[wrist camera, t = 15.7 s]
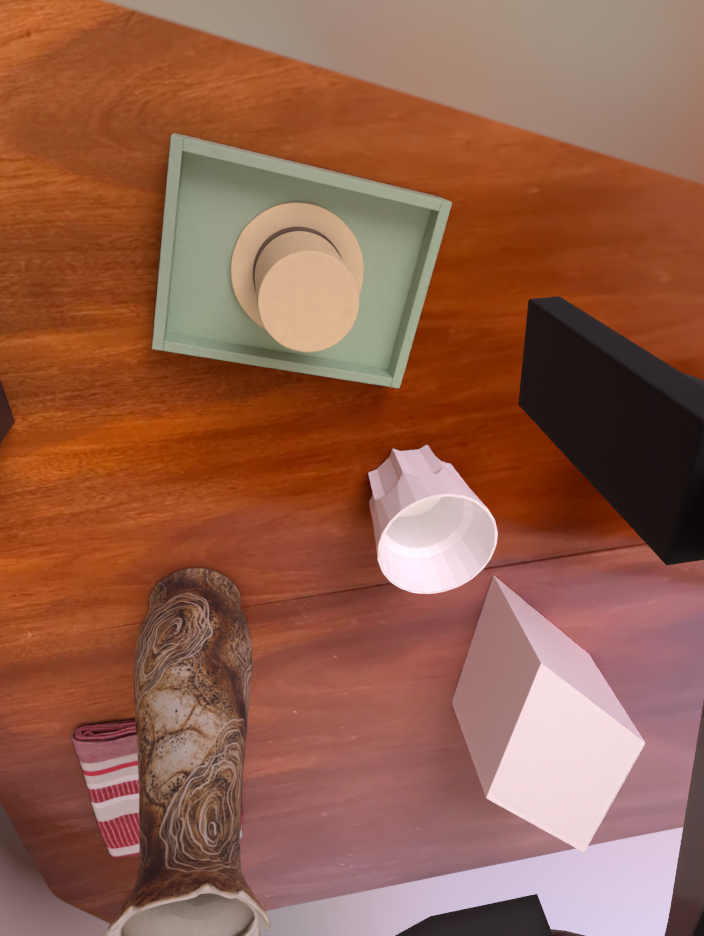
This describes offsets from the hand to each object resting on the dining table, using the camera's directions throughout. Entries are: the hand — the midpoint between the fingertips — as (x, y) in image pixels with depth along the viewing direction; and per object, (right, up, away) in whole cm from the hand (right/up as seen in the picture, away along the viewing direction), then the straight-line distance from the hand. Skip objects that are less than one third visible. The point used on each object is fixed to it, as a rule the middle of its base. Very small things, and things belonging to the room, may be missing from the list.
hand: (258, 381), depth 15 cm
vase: (-13, -15, +49) cm, 53 cm away
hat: (-2, +13, +34) cm, 36 cm away
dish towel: (-20, -39, +62) cm, 76 cm away
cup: (+8, -3, +46) cm, 47 cm away
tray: (-2, +13, +34) cm, 37 cm away
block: (+22, -27, +63) cm, 72 cm away
